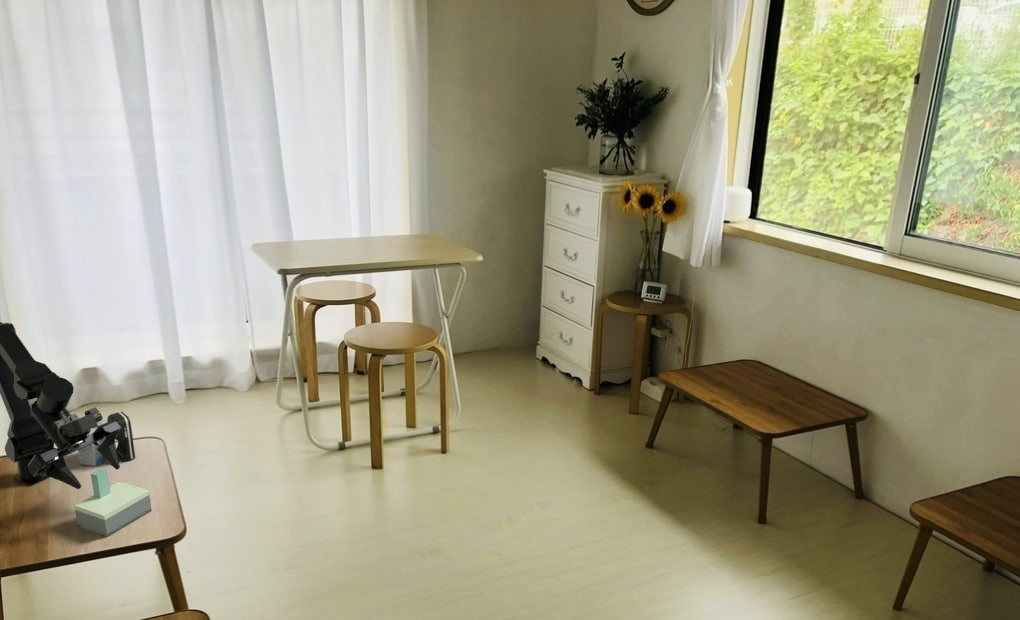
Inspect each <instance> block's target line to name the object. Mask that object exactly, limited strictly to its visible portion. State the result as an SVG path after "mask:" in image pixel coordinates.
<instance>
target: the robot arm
mask: <svg viewBox="0 0 1020 620" xmlns="http://www.w3.org/2000/svg"><path fill="white" fill-rule="evenodd" d="M73 394H74V386H73V383H72V382H71V381H70V380H68V379H66V378H63V377H61V376H60V375H58V374H57V373H55V372H54V371H52V370H51V368H50V367H49V366H48V365H47V364H46V363H43V362H40V361H37V360H35V359H34V357H33V356H32V355H31V353H30V351H29V350H28V349H27V347H26V346H25V345H24V343H23V341H22V340H21V339H20V338H19V336H18V335H17V333H16V327H15V326H14V324H13V323H11V322H5V323H4V322H0V397H1V400H2V401H3V405H4V407H5V410H6V411H7V412H6V413H7V415H8V418H9V419H10V422H9V426H8V429H7V433H6V434H7V437H8V438H7V440H6V442H5V446H4V452H5V455H6V457H7V459H9V460H11V462H13V463H14V464H15V463H16V464H17V469H18V474H17V475H16V476H13V477H12V479H13V480H12V481H16V482H19V483H20V484H21V483H22V484H25V485H27V486H33V485H35V484H38V483H40V482H41V481H43V480H45V479H48V478H52V479H54V480H57V481H59V482H62V483H64V484H67V485H68V486H69V487H72V488H74V489H77V490H80V489H81V488H82V485H81V482H80V481H79V479H78V478H77V476H76V475H74V473H73V472H72V470H70V468H69V467H68V466H67V464H66V460H65V457H66V456H69V455H71V454H74V453H75V452H78V450H80V449H82V448H84V447H86V446H89V445H91V444H93V443H94V445H97V446H99V447H98V448H97V450H98V451H99V452H100V454H101V455H102V456H103V457H104V458H105V460H106V462H108V464H109V465H111V467H112V468H114V469H115V470H119V469H120V468H121V466H120V461H119V458H118V457H117V453H116V449H115V444H116V439H115V438H116V437H117V436H118V432H119V431H120V430H121V429H122V428H121V426H120V425H119V424H118V422H116V421H109V422H107V423H105V424H102V425H100V426H98V424H97V422H99V421H101V420H103V415H102V414H101V412H100V410H99V409H98V408H97V407H96V406H95V407H92V408H90V409H87V410H85V411H84V416H82V417H79V416H78V415H77V414H76V413H73V414H71V413H70V412H69V410H68V409H67V407H68V405H69V403H70V401H71V399H72V396H73ZM34 399H36V400H35V401H33V403H32V404H30V402H29V401H31V400H34ZM96 427H98V428H97V429H96V430H95V432H94V433H93V434H92V435H89V436H87V434H89V433H90V432H91V429H92V428H96ZM82 443H83V444H82ZM79 444H81V445H79ZM56 447H57V448H56Z"/></svg>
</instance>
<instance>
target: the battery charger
mask: <svg viewBox="0 0 1020 620" xmlns="http://www.w3.org/2000/svg"><path fill="white" fill-rule="evenodd" d="M106 421H107V422H109V421H116V422H118V424H119V425H120V426H121V428H122V429H121V430H120V431H119V432H118V436H117V437H116V438H115V441H117V445H116V453H117V457H118V460H120V461H121V462H126V461H132V460H134V459H135V458H136V453H135V444H134V437H133V436H134V435H133V431H132V430H133V429H132V423H131V420H130V417H129V416H128V415H127V414H125V412H123V411H117V412H115V413H111V414H109V415H108V416H107V419H106Z"/></svg>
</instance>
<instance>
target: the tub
mask: <svg viewBox="0 0 1020 620" xmlns="http://www.w3.org/2000/svg"><path fill="white" fill-rule="evenodd" d="M152 510H153V509H152V504H151V497H150V494H149V495H148V496H146V497H145V498H143V499H141V500H139V501H138V502H136V503H134V504H132V505H131V506H129V507H127V508H125V509H124V510H122V511H120V512H118V513H117V514H115V515H113V516H111V517H110V518H108V519H106V520H103V519H100V518H97V517H94V516H92V515H89V514H86V513H83V512H80V511H77V510H75V509H74V512H75V519H76V523H77V524H76V525H77V527H79V528H81V529H85V530H87V531H90V532H93V533H95V534H98V535H101V536H103V537H106V536H107V537H106V538H108V537H110V536H111V535H113V534H115V533H116V532H119V531H120V530H122V529H123V528H125V527H127V526H128V525H130V524H132V523H134V522H136V521H137V520H138V519H140V518H142V517H144V516H145V515H148V514H149V513H150V512H152ZM109 535H110V536H109Z"/></svg>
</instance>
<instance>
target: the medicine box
mask: <svg viewBox="0 0 1020 620" xmlns="http://www.w3.org/2000/svg"><path fill="white" fill-rule="evenodd" d="M105 423H107V419H106V420H104V419H102V420H101V421H99V422H97V424H98V426H100V425H102V424H105ZM97 428H98V427H96V428H92V429H91V432H90V433H89V434H87V436H89V435H92V434H93V433H94V432H95V430H96V429H97ZM82 444H83V443H82ZM79 445H81V444H79ZM98 447H99V446H97V445H94V443H93V444H91V445H89V446H86V447H84V448H82V449H80V450H78V451H77V453H78V459H79V463H80V465H85V466H95V467H96V466H97V465H100V462H101V463H102V462H103V460H104V459H105V458H104V457H103V456H102V455H101V454H100V452H99V451H98V450H97V448H98ZM116 448H117V443H115V449H116ZM105 460H106V459H105ZM105 460H104V461H105Z"/></svg>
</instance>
